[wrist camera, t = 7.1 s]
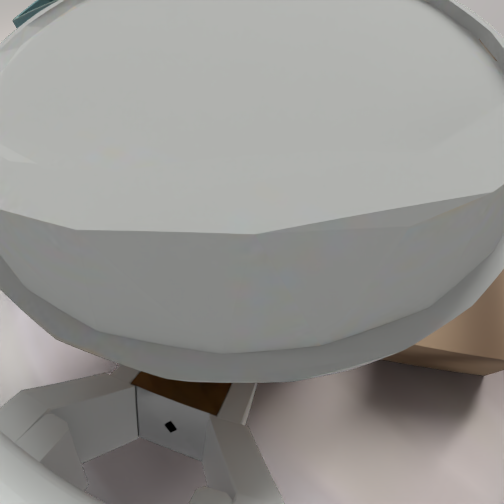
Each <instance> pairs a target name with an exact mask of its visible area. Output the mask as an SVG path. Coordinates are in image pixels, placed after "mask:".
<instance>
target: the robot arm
mask: <svg viewBox="0 0 504 504" xmlns="http://www.w3.org/2000/svg"><path fill="white" fill-rule="evenodd" d="M256 386H257V383H216V382H188V381H180V380H172V379H165V378H162V377H159V376H155V375H152V374H149V373H146V372H143V371H139V370H136V369H133V368H130V367H127V366H124V365H121V364H120V365H119V366H118V367H117V368H116V369H115V370H114V371H113V372H112V373H111V374H110V375H109V374H107V373H102V374H98V375H93V376H89V377H84V378H80V379H75V380H71V381H66V382H61V383H56V384H52V385H47V386H41V387H36V388H31V389H25V390H21V391H20V392H19V393H18V394H16V395H15V396H14V397H13V398H12V399H10V400H9V401H8V402H7V403H6V404H4V405H3V406H2V407H1V408H0V504H106V503H104V502H103V501H101V500H99V499H97V498H95V497H93V496H92V495H90V494H88V493H87V492H85V490H86V488H87V487H88V485H89V484H88V480H87V477H86V475H85V472H84V470H83V467H82V465H81V463H84V462H86V461H89V460H91V459H93V458H96V457H98V456H100V455H103V454H105V453H107V452H110V451H112V450H114V449H116V448H119V447H121V446H123V445H125V444H127V443H130V442H132V441H134V440H136V439H138V437H141V438H143V439H146V440H148V441H150V442H153V443H156V444H158V445H161V446H163V447H166V448H169V449H171V450H174V451H176V452H179V453H181V454H184V455H186V456H189V457H191V458H194V459H197V460H199V461H202V465H203V469H204V473H205V478H206V482H207V486H208V487H206V486H204V487H201V488H198V489H196V490H195V492H194V494H193V496H192V498H191V500H190V502H189V504H285V503H284V501H283V499H282V497H281V495H280V493H279V491H278V489H277V487H276V485H275V483H274V481H273V479H272V477H271V475H270V472H269V470H268V468H267V466H266V464H265V462H264V460H263V458H262V455H261V453H260V451H259V449H258V447H257V445H256V442H255V440H254V438H253V436H252V434H251V431H250V429H249V427H248V426H246V422H247V418H248V415H249V411H250V408H251V404H252V401H253V397H254V393H255V390H256Z"/></svg>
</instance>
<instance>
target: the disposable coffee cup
mask: <svg viewBox="0 0 504 504" xmlns="http://www.w3.org/2000/svg"><path fill="white" fill-rule="evenodd" d="M503 269H504V37H503V36H502V35H501V34H500V33H499V32H498V31H497V30H495V29H494V28H493V27H492V26H491V25H490V24H489V23H487V22H486V21H485V20H483V19H482V18H481V17H479V16H478V15H477V14H476V13H474V12H473V11H471V10H470V9H469V8H467V7H466V6H464V5H463V4H461V3H459V2H458V1H456V0H58V1H57V2H55V3H53V4H51V5H50V6H48V7H46V8H45V9H43V10H41V11H40V12H38V13H37V14H35V15H34V16H33V17H31V18H30V19H29V20H27V21H26V22H25V23H23V24H22V25H21V26H20V27H18V28H17V29H16V30H15V31H13V32H12V33H11V34H10V35H9V36H8V37H7V38H5V39H4V40H3V41H2V42H1V43H0V289H1V290H2V291H3V292H4V293H5V294H6V295H7V296H8V297H9V298H10V299H11V300H12V301H13V302H14V303H15V304H16V305H17V306H18V307H19V308H20V309H21V310H23V311H24V312H25V313H26V314H27V315H28V316H29V317H30V318H31V319H33V320H34V321H35V322H36V323H37V324H38V325H39V326H41V327H42V328H43V329H44V330H45V331H46V332H48V333H49V334H50V335H51V336H53V337H54V338H55V339H56V340H59V341H61V342H64V343H66V344H68V345H71V346H73V347H76V348H78V349H81V350H83V351H86V352H88V353H91V354H94V355H96V356H99V357H102V358H104V359H107V360H110V361H113V362H116V363H119V364H121V365H124V366H127V367H130V368H133V369H136V370H139V371H143V372H146V373H149V374H152V375H155V376H159V377H162V378H165V379H172V380H180V381H188V382H216V383H265V382H294V381H299V380H305V379H310V378H315V377H320V376H325V375H330V374H335V373H339V372H344V371H348V370H352V369H355V368H358V367H361V366H364V365H367V364H369V363H372V362H375V361H377V360H380V359H383V358H385V357H388V356H390V355H393V354H395V353H398V352H400V351H403V350H405V349H407V348H409V347H411V346H412V345H414V344H416V343H417V342H419V341H421V340H422V339H424V338H425V337H427V336H428V335H430V334H432V333H433V332H435V331H436V330H438V329H439V328H441V327H442V326H444V325H445V324H447V323H448V322H450V321H451V320H453V319H454V318H456V317H457V316H459V315H460V314H461V313H463V312H464V311H466V310H467V309H468V308H470V307H471V306H472V305H473V304H474V303H475V302H476V301H477V300H478V299H479V298H480V296H481V295H482V294H483V293H484V292H485V291H486V290H487V288H488V287H489V286H490V285H491V284H492V282H493V281H494V280H495V279H496V278H497V276H498V275H499V274H500V273H501V272H502V270H503Z"/></svg>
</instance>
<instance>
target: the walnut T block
mask: <svg viewBox="0 0 504 504" xmlns="http://www.w3.org/2000/svg"><path fill="white" fill-rule="evenodd" d="M382 360H387V361H392V362H398V363H403V364H409V365H415V366H421V367H427V368H433V369H440V370H446V371H453V372H460V373H467V374H475V375H483V376H486V375H489V374H492V373H495V372H499V371H502V370H504V269H503V270H502V272H501V273H500V274H499V275H498V276H497V278H496V279H495V280H494V281H493V282H492V284H491V285H490V286H489V287H488V288H487V290H486V291H485V292H484V293H483V294H482V295H481V296H480V298H479V299H478V300H477V301H476V302H475V303H474V304H473V305H472V306H471V307H470V308H468V309H467V310H466V311H464V312H463V313H461V314H460V315H459V316H457V317H456V318H454V319H453V320H451V321H450V322H448V323H447V324H445V325H444V326H442V327H441V328H439V329H438V330H436V331H435V332H433V333H432V334H430V335H428V336H427V337H425V338H424V339H422V340H421V341H419V342H417V343H416V344H414V345H412V346H411V347H409V348H407V349H405V350H403V351H400V352H398V353H395V354H393V355H390V356H388V357H385V358H383V359H382Z"/></svg>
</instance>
